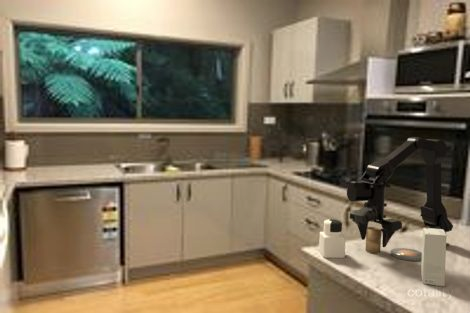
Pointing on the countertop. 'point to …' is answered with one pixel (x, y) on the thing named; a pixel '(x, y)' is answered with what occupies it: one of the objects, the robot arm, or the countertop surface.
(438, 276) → the skincare box
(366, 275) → the countertop surface
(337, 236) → the medicine bottle
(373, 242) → the oak canister
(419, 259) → the coaster
